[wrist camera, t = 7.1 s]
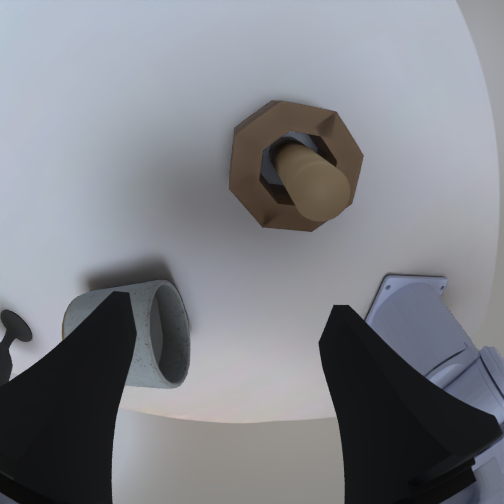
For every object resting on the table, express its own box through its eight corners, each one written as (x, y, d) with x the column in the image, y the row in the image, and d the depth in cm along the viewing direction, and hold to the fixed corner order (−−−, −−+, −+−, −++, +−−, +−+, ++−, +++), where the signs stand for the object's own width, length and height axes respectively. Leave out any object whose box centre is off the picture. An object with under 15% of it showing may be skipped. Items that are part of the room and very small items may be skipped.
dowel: (299, 174, 17) (340, 225, 11) (265, 167, 17) (287, 216, 10) (307, 140, 16) (357, 173, 10) (272, 133, 16) (302, 159, 9)
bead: (325, 211, 19) (343, 235, 16) (226, 200, 18) (225, 224, 15) (345, 114, 15) (370, 120, 12) (238, 96, 14) (239, 95, 11)
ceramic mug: (78, 275, 20) (38, 345, 13) (165, 257, 20) (140, 339, 13) (131, 357, 26) (116, 422, 19) (206, 350, 25) (203, 423, 19)
